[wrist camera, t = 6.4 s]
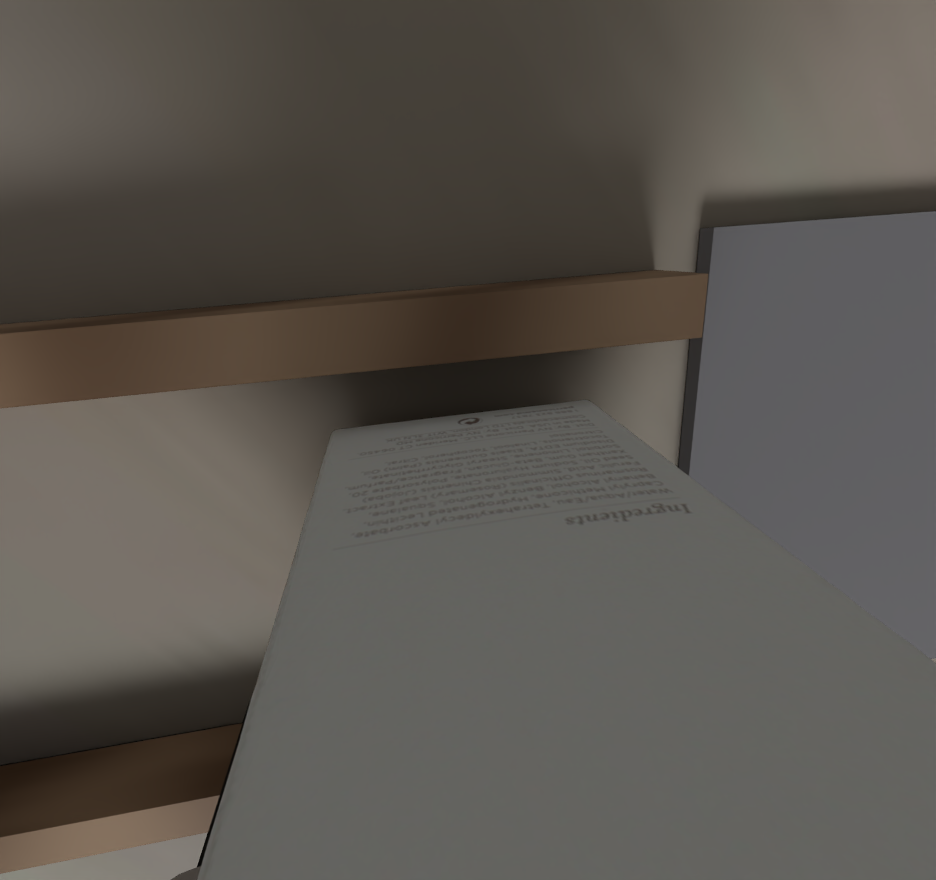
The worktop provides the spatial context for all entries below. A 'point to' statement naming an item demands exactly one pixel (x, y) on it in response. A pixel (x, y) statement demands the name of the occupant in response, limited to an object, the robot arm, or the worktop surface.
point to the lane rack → (259, 360)
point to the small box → (566, 679)
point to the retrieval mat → (825, 401)
